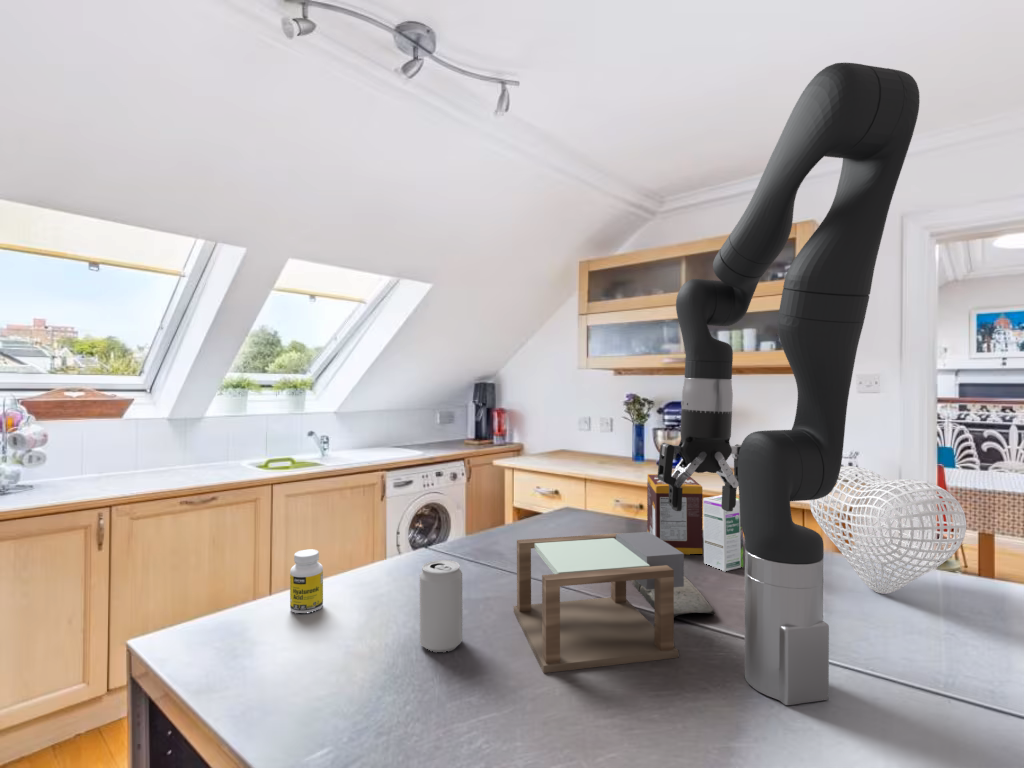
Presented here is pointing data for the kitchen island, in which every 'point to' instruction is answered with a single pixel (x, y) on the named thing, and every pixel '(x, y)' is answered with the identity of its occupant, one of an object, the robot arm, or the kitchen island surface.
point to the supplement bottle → (306, 582)
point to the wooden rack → (593, 616)
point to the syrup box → (722, 535)
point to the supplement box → (676, 515)
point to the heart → (883, 484)
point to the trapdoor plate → (613, 555)
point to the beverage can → (440, 605)
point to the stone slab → (680, 598)
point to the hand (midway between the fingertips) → (701, 510)
